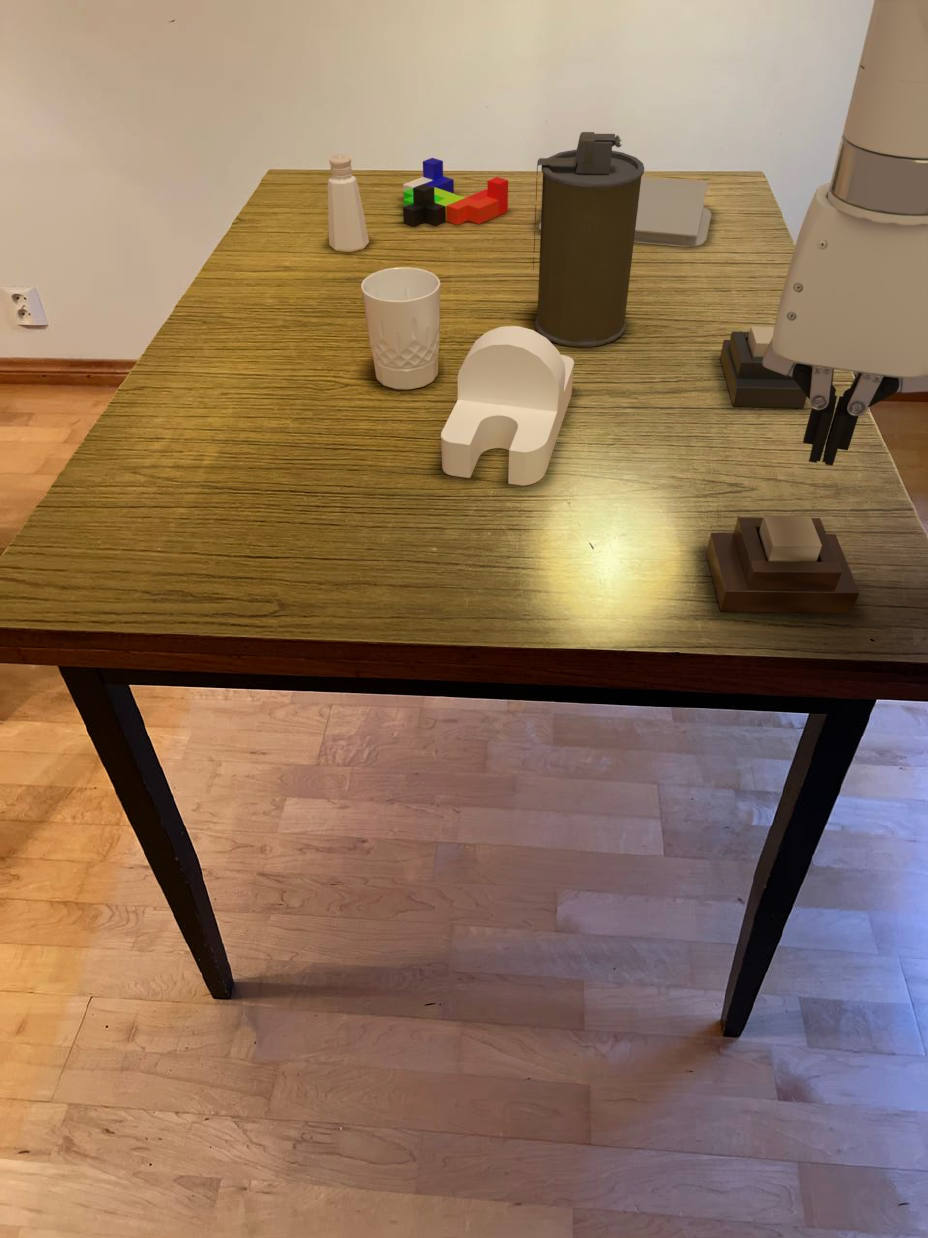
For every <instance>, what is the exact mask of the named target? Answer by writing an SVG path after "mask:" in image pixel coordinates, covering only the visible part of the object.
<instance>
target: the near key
mask: <svg viewBox="0 0 928 1238" xmlns="http://www.w3.org/2000/svg"><path fill="white" fill-rule="evenodd" d="M762 517H763V520H762V523H761V527H760V531H759V535H760V538H761V541H762V544H763V547H764V551H765V554H766V557H767V560H768V561H792V562H817V559H818V556H819V553H820V550H821V547H822V545H821V542H820V539H819V537H818V534H817V532H816V529H815V527H814V524H813V521H812V519H811V518H812V516H810V515H763V516H762Z"/></svg>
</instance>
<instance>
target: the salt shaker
mask: <svg viewBox="0 0 928 1238" xmlns="http://www.w3.org/2000/svg"><path fill="white" fill-rule="evenodd" d="M328 161H329V165H330V167H329V168H330V172H331V176H330V177H329V178H328V179H327V205H328V206H327V207H328V208H327V209H328V211H327V212H328V213H327V214H328V245H329V246H330V248H332V249H333V250H334V251H335V252H341V253H343V252H344V253H353V252H358V251H361V250H364V249H365V248H366V247H367V246H368V244H370V239H369V235H368V234H369V233H368V229H367V224H366V219H365V212H364V208H363V203H362V198H361V193H360V188H359V187H360V186H359V183H358V178H357V177H356V176H354V175H353V173H352V170H353V169H352V157H351V156H349V155H347V154H335V155H332V156H330V157H329V158H328Z"/></svg>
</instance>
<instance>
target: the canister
mask: <svg viewBox="0 0 928 1238" xmlns="http://www.w3.org/2000/svg"><path fill="white" fill-rule="evenodd" d="M578 137H579V138H578V142H577V147H576V149H571V150H566V151H559V152H558V153H556V154H553V155H551V156H549V157H540V158H539V159H537V163H536V174H538V173H539V172H538V171H539V170H538V169H539V168H538V167H539V166H541V173H542V185H541V186H542V188H541V189H542V190H541V192H542V193H541V213H540V215H541V216H540V220H541V221H540V222H541V230H540V236H539V237H540V239H539V240H540V242H539V266H538V267H539V268H538V292H537V316H536V318H535V320H534V326H535V329H536V332H537V333H539V334H540V335H542V336H544V337H545V338H547V339H548V340H549V341H550V342H551V343H552V342H553V343H555V344H558V345H559V346H567V347H574V348H577V347H578V348H594V347H598V346H603V345H607V344H611V343H612V342H614V341H616V340H617V339H619V338H621V337H622V335H623V334H624V333H625V332H626V327H627V323H626V313H627V304H628V297H629V287H630V279H631V271H632V261H633V252H634V243H635V242H634V236H635V228H636V219H637V211H638V202H639V193H640V185H641V177H643V175H644V174H645V165H644V163H643V162H642V161H641V160H639V158H637V157H636V156H633V155H630V154H627V153H625V152H622V151H618V150H613V147H614V146H615V147H616V148H621V147H622V145H623V144H622V143H621V142H622V139H620V138H621V137H620V136H619V135H618V134H617V135H616V134H615V133H595V131H582V132H581V133H580V134H579V136H578ZM535 183H536V184H535V200H537V196H538V191H537V190H538V179H536V182H535ZM536 221H537V206H535V210H534V226H536V224H537V223H536ZM533 234H534V235H533V252H535V250H536V249H535V248H536V247H535V244H536V232H534V233H533ZM532 262H533V263H532V270H534V267H535V258H533V260H532Z"/></svg>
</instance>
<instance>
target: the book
mask: <svg viewBox="0 0 928 1238" xmlns="http://www.w3.org/2000/svg"><path fill="white" fill-rule="evenodd" d="M708 187H709V181H704V180H689V179H679V178H677V179H676V178H667V177H665V178H663V177H651V176H641V185H640V193H639V202H638V211H637V219H636V228H635V236H634V243H637V244H645V245H647V244H648V245H658V246H671V247H680V248H695V247H698V246H701V245H703V244H704V243H705V242H706V241H707V237H708V233H709V227H710V223H711V219H712V213H711V210H710V209H708V208H706V207H705V206H704V205H705V200H706V196H707V191H708ZM538 227H539V230H540V231H541V221H540V222H539V225H538Z"/></svg>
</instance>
